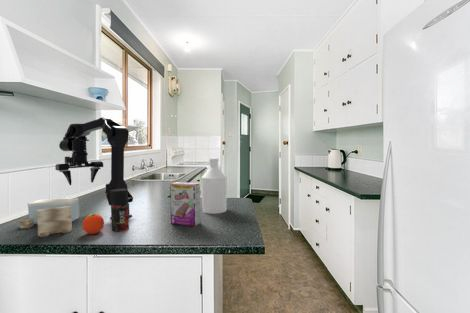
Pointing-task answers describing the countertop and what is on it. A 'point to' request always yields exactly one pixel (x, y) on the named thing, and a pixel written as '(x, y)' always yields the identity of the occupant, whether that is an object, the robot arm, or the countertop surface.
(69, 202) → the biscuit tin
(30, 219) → the left marker cube
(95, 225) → the clementine
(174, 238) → the countertop surface
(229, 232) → the countertop surface
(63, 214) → the beige layered block
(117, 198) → the deodorant
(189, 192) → the candy bar box
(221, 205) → the bottle
